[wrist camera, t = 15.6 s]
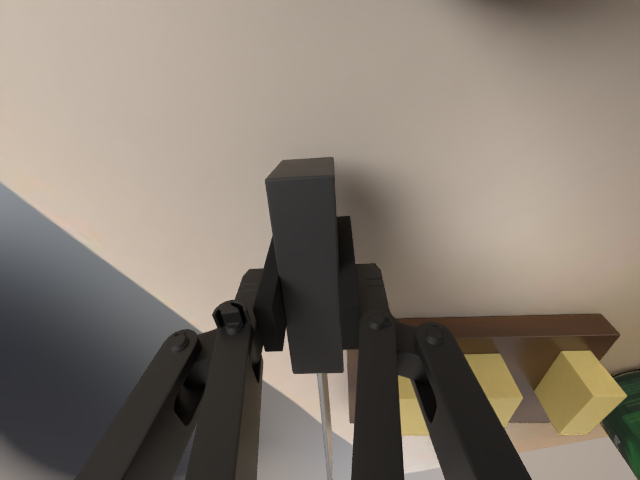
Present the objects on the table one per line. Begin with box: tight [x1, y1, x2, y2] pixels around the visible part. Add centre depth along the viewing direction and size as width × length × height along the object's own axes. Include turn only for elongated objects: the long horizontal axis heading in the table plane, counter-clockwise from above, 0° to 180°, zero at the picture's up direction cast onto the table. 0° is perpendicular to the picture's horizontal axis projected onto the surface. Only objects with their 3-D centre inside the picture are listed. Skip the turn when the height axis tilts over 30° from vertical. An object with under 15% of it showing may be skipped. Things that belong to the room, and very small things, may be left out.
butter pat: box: [534, 351, 627, 435], centre depth 23 cm, size 6×2×4 cm, turn 3°
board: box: [347, 314, 620, 423], centre depth 27 cm, size 14×20×2 cm
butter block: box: [398, 354, 523, 436], centre depth 24 cm, size 6×10×4 cm, turn 94°
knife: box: [265, 157, 344, 480], centre depth 17 cm, size 22×3×4 cm, turn 4°
